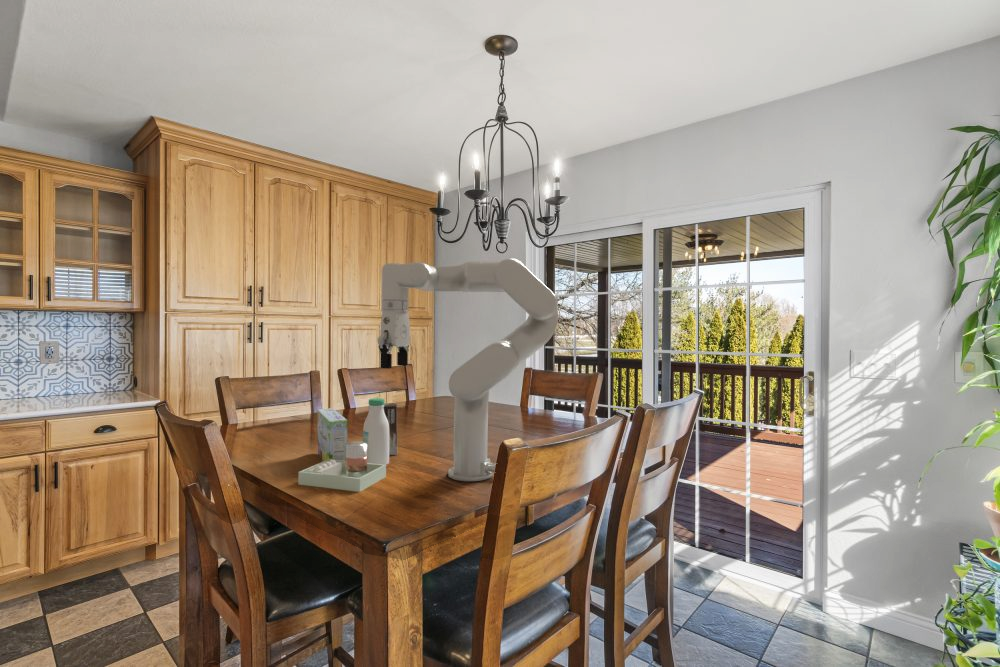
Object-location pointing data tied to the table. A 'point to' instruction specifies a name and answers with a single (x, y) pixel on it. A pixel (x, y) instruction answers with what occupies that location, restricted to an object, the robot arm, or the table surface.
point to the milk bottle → (376, 433)
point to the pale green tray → (343, 478)
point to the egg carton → (328, 468)
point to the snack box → (331, 434)
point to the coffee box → (392, 426)
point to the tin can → (356, 459)
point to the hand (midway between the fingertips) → (394, 366)
